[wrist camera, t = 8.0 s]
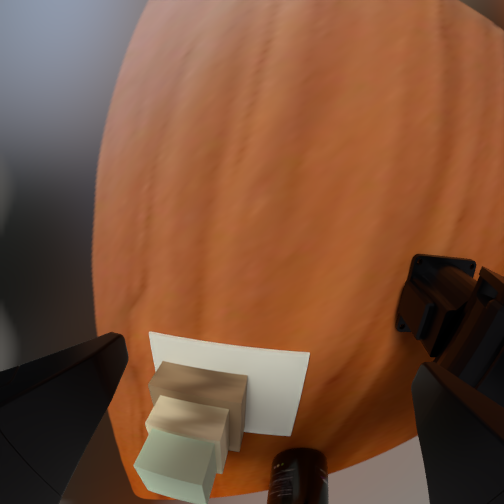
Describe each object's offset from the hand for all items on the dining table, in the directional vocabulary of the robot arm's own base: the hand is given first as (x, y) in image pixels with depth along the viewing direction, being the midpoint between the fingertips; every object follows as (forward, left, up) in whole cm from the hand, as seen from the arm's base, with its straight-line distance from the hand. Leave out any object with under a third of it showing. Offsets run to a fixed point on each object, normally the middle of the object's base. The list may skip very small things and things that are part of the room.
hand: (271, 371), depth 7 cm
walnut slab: (+6, +16, -13) cm, 21 cm away
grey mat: (+4, +15, -13) cm, 20 cm away
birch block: (+6, +16, -9) cm, 19 cm away
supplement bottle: (-5, +27, -13) cm, 30 cm away
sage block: (+6, +16, -6) cm, 18 cm away
